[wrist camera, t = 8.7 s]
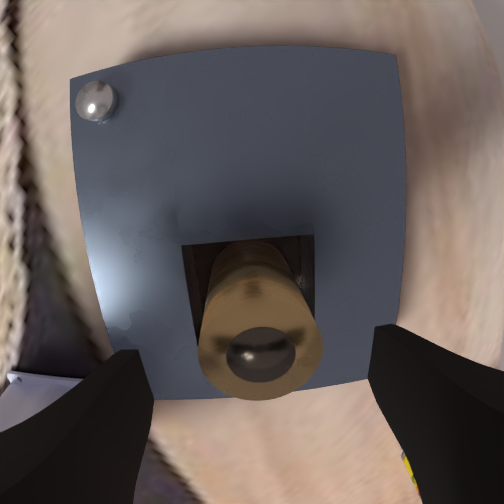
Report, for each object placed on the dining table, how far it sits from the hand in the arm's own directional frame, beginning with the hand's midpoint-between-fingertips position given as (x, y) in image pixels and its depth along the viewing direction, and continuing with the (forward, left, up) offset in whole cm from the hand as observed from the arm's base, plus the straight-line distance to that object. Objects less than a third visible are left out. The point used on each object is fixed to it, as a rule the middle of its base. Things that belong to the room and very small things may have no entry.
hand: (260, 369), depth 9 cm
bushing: (0, 0, -8) cm, 8 cm away
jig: (0, +3, -8) cm, 8 cm away
